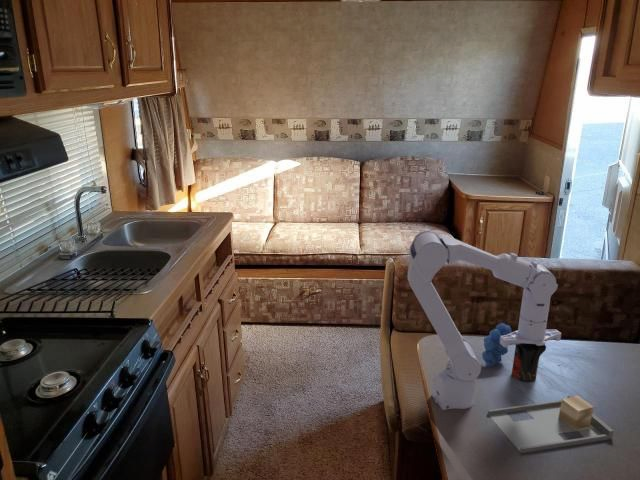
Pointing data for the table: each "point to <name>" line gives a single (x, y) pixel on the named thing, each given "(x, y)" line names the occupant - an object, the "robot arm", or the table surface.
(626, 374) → the table surface
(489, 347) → the grapes
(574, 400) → the block
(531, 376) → the deodorant
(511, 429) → the board
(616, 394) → the table surface
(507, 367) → the table surface
